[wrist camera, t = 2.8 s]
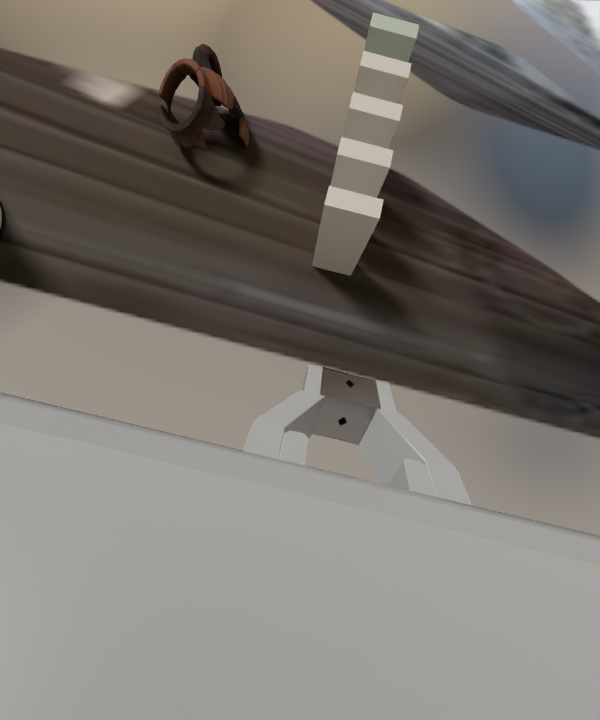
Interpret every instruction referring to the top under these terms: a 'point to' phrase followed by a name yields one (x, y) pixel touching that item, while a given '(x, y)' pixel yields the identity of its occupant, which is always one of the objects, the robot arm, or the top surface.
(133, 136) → the top surface
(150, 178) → the top surface
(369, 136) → the domino
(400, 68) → the domino
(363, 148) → the domino
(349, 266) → the domino
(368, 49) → the domino
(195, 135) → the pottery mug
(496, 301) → the top surface
